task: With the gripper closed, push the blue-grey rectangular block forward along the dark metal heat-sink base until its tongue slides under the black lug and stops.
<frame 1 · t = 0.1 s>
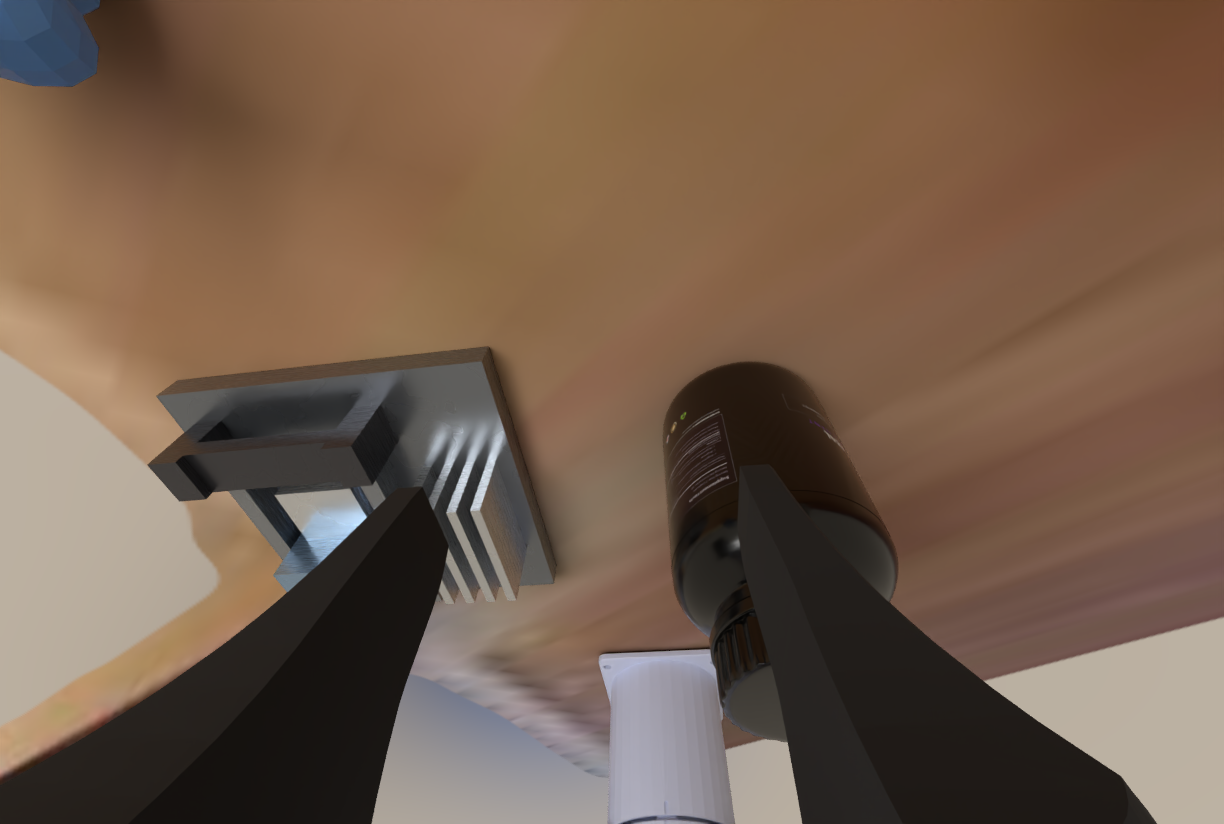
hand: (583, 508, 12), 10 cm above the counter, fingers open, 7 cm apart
supplement bottle: (737, 419, 23), on the counter
heatsink base: (353, 488, 26), on the counter
blue-grey rectangular block: (341, 552, 24), point 3 cm above the counter, slide at 0.0 cm
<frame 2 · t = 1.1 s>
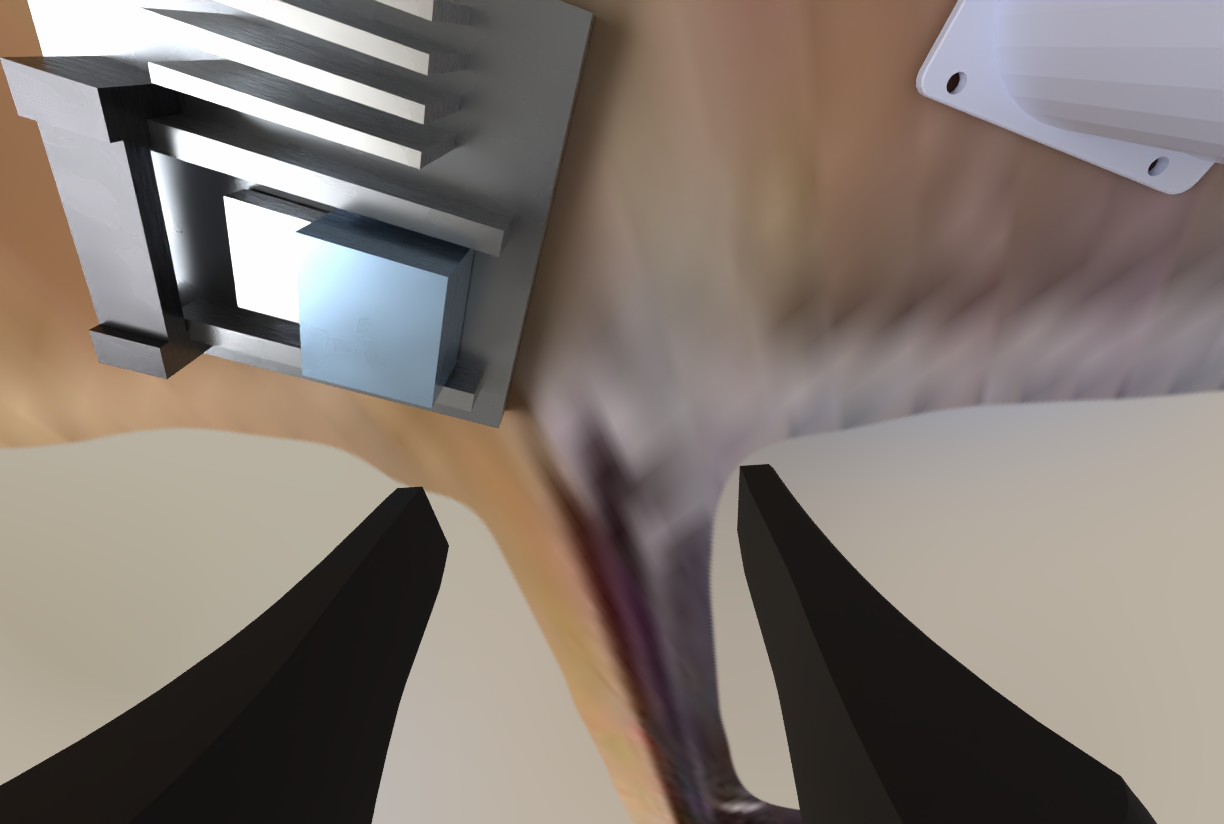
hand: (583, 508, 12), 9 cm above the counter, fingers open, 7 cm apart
heatsink base: (333, 250, 18), on the counter
blue-grey rectangular block: (340, 294, 16), point 3 cm above the counter, slide at 0.0 cm
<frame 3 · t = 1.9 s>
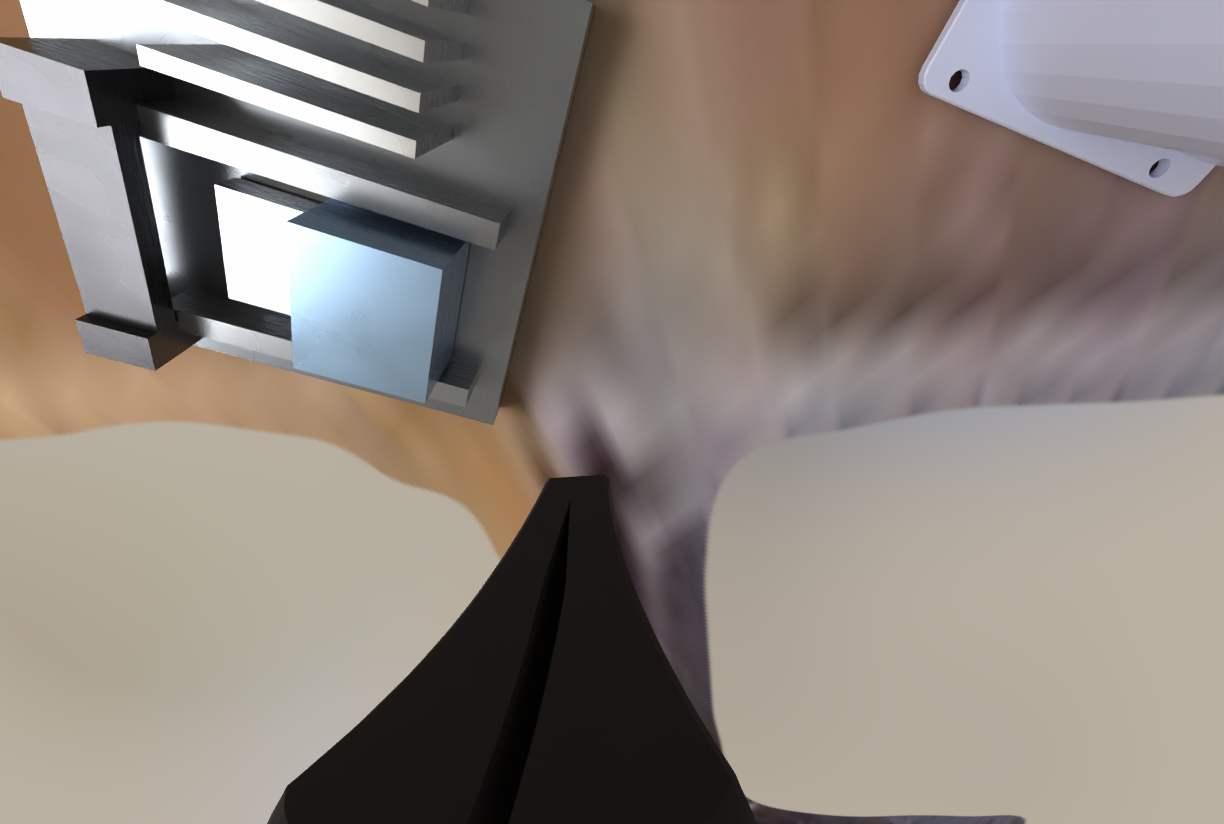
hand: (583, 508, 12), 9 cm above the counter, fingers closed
heatsink base: (326, 242, 18), on the counter
blue-grey rectangular block: (333, 286, 16), point 3 cm above the counter, slide at 0.0 cm
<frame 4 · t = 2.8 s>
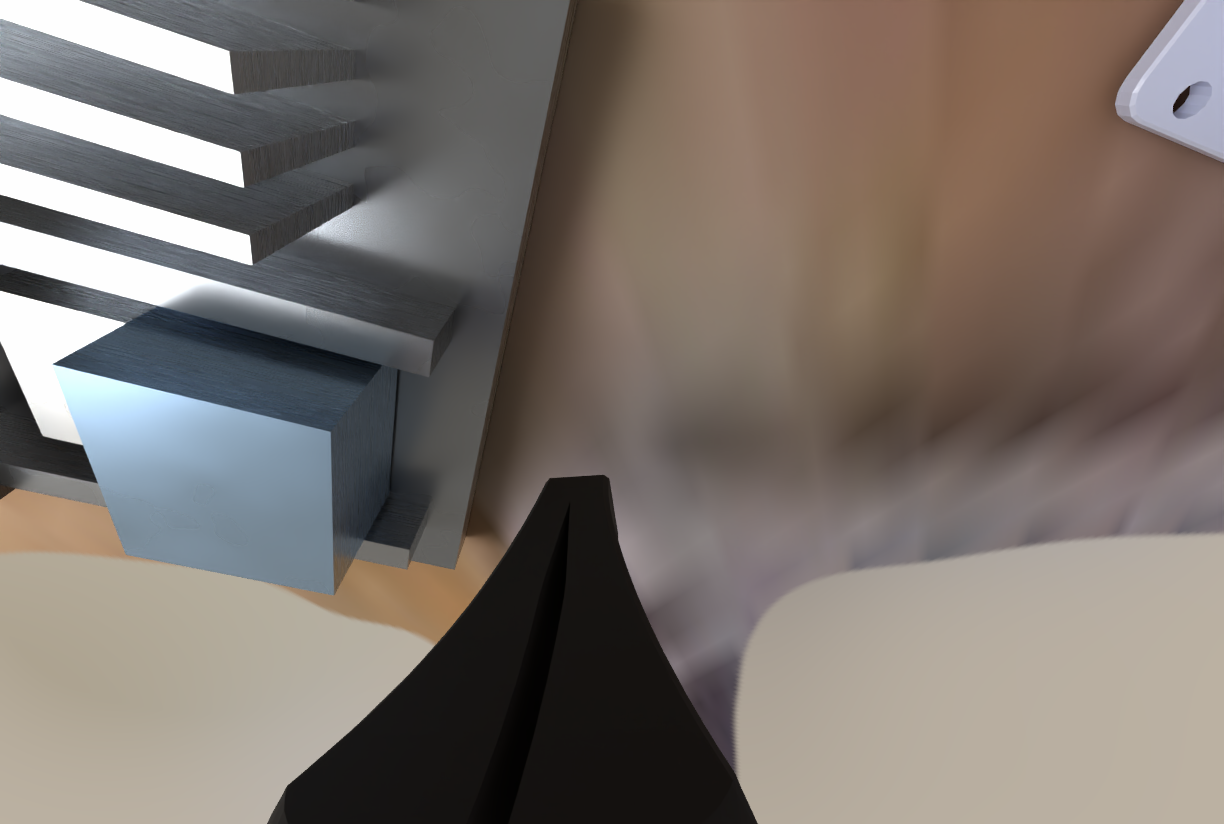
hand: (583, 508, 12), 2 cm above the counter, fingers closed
heatsink base: (201, 341, 12), on the counter
blue-grey rectangular block: (186, 428, 10), point 3 cm above the counter, slide at 0.0 cm
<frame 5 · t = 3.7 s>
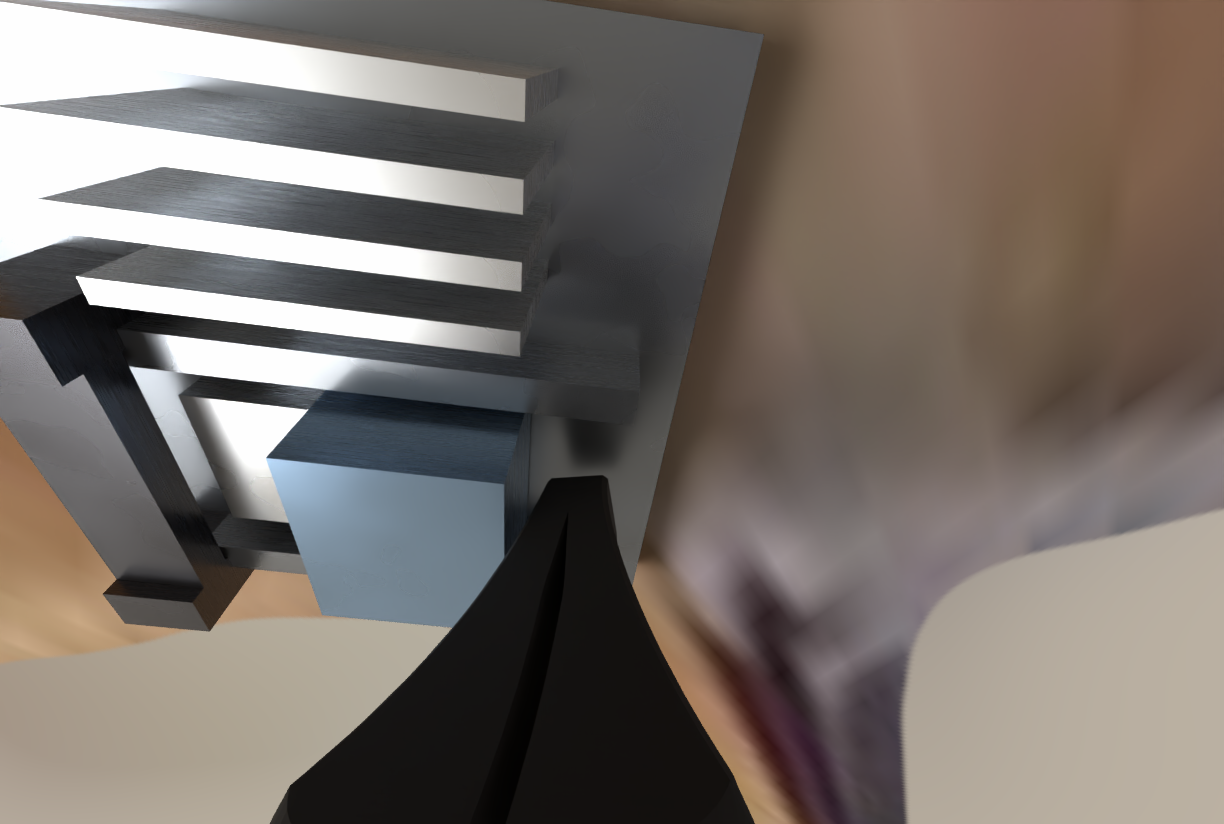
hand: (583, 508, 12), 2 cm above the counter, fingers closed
heatsink base: (392, 417, 13), on the counter
blue-grey rectangular block: (357, 494, 11), point 3 cm above the counter, slide at 1.2 cm, touching gripper
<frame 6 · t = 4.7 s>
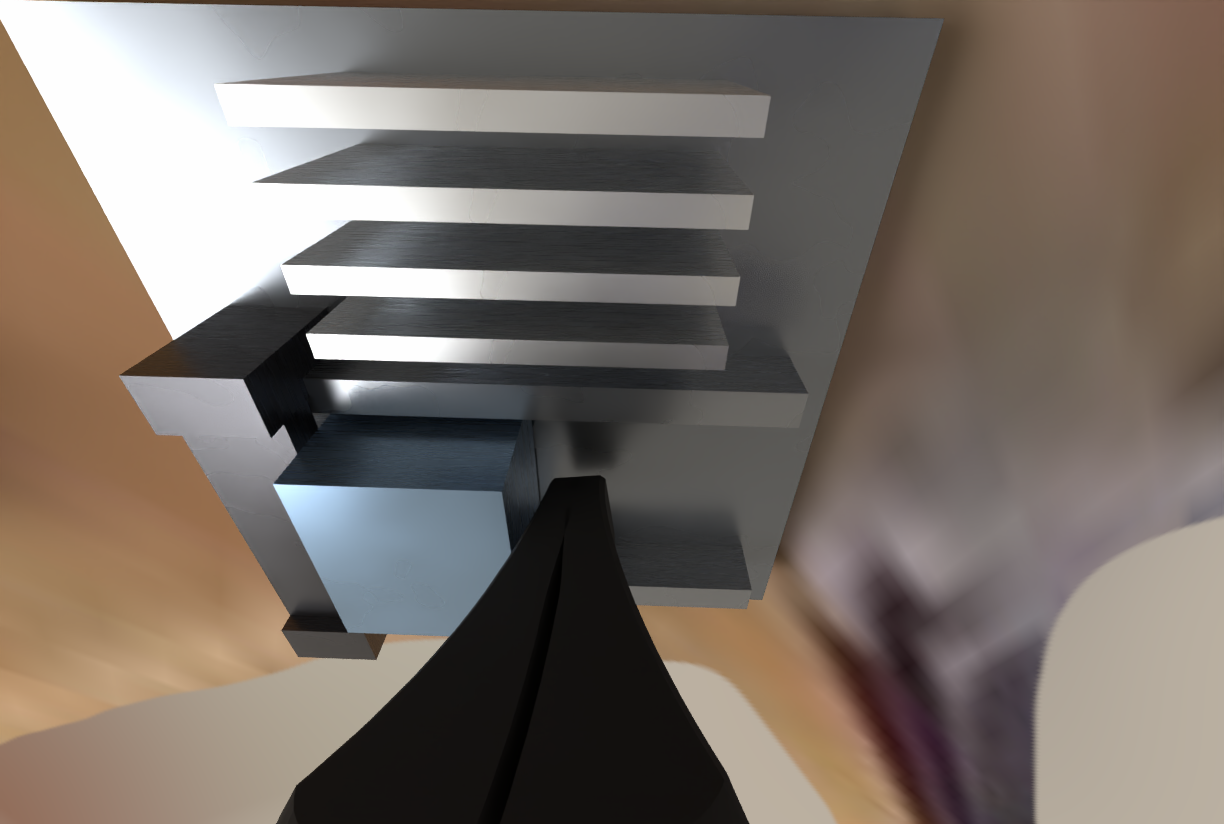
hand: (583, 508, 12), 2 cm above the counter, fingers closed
heatsink base: (525, 439, 14), on the counter
blue-grey rectangular block: (370, 513, 11), point 3 cm above the counter, slide at 4.5 cm, touching gripper, heatsink base
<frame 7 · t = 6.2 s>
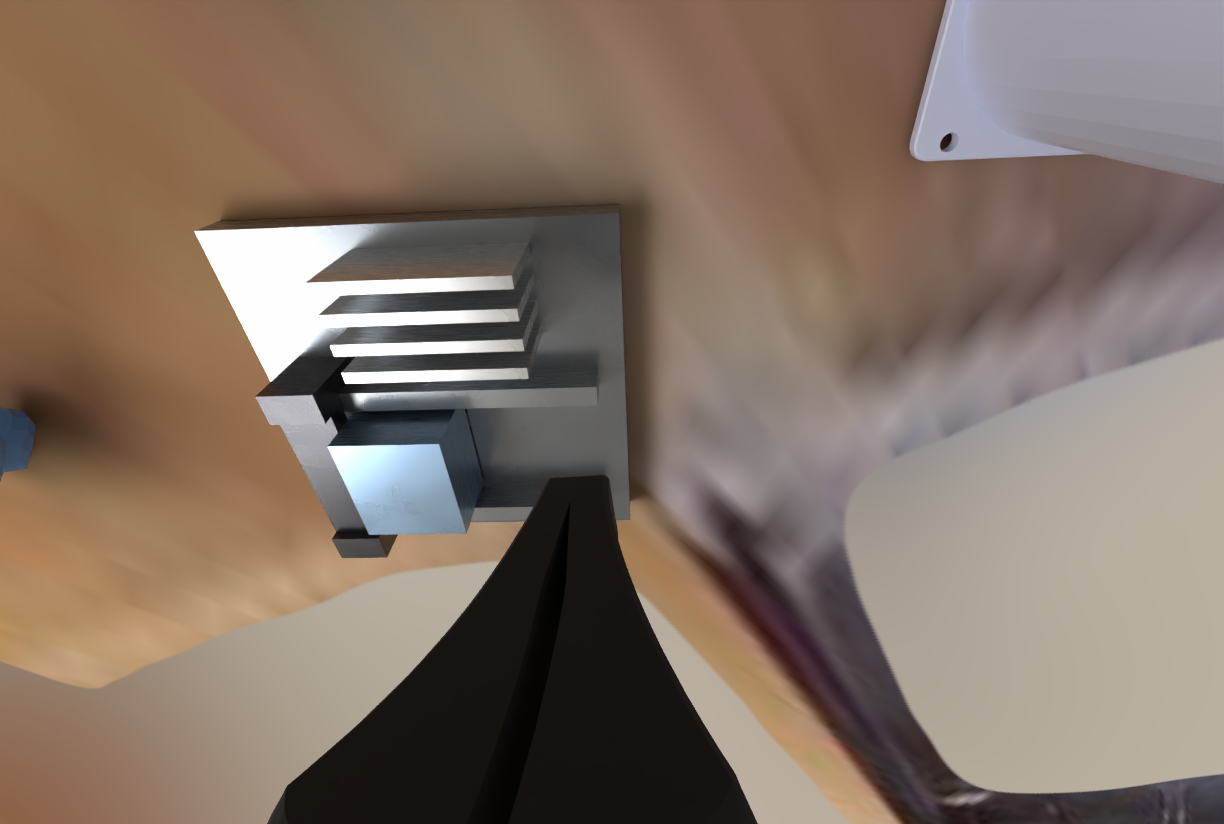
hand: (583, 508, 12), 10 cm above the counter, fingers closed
grapes: (21, 448, 24), on the counter
heatsink base: (469, 423, 23), on the counter
blue-grey rectangular block: (378, 467, 21), point 3 cm above the counter, slide at 4.5 cm, touching heatsink base
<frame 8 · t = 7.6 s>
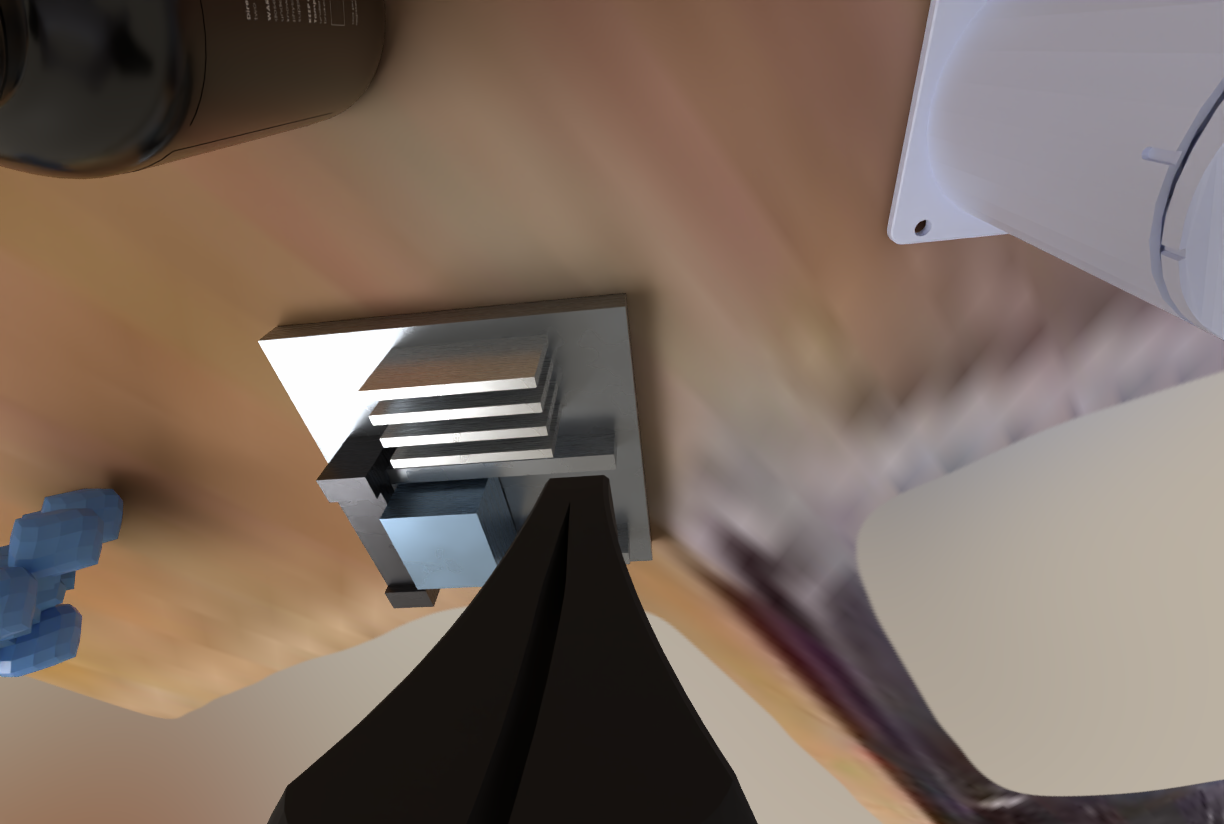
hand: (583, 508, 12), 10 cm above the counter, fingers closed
grapes: (110, 517, 28), on the counter
heatsink base: (500, 481, 25), on the counter
blue-grey rectangular block: (422, 528, 23), point 3 cm above the counter, slide at 4.5 cm, touching heatsink base
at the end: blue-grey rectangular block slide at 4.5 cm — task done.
